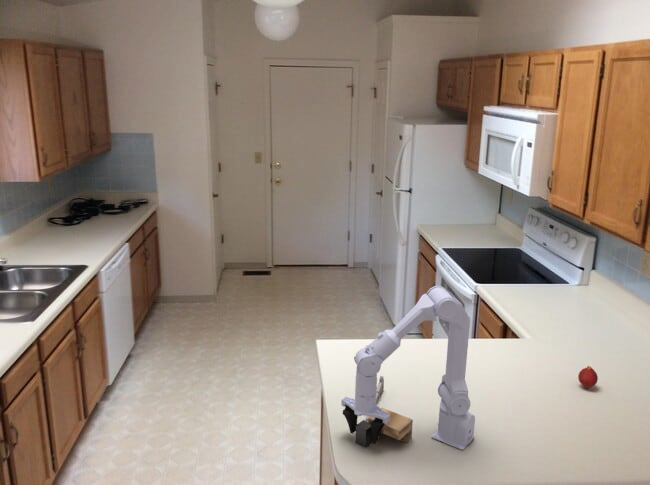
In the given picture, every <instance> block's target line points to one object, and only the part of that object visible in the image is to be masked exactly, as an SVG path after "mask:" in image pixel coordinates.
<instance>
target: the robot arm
mask: <svg viewBox="0 0 650 485" xmlns="http://www.w3.org/2000/svg"><path fill="white" fill-rule="evenodd" d="M437 317H438V318H439V319H441V320H442V321H445V322H447V323H448V324H449V325H448V336H447V348H446V349H447V351H446V362H445V374H443V375H442V376H441V382H440V383H439V385H438V388H437V393H438V395H439V397H440V398H441V400H440V402H439V411H438V423H437V424H438V425H437V430H436V431H435V432H434V433H433V434H432V435H431V438H432V439H434V440H436V441H439V442H442V443H444V444H446V445H449V446H452V447H454V448H457V449H459V450H460V451H461V450H462V451H463V450H464V449H465V448H466V447H467V446H468V445H469V444H470V443H471V442H472V441H473V439H474V438H475V435H474V434H475V433H474V432H475V422H476V417H475V415H474V414H472V413H471V412H470V411H469V410H470V408H471V400H470V398H469V389H468V385H467V381H466V370H467V358H468V350H469V349H468V347H469V336H470V326H471V317H470V316H469V315H468V312H467V311H466V309H465V308H464V306H463V304H462V302H460V301H459V300H458V299H457V298H456V297H455V295H453V293H452V292H450V290H448V289H446V288H445V287H443V286H441V285H435V286H432V287H430V288H429V289H428V290H427V292H426V293H424V294H422V295H421V296H420V298H419V300H418V301H417V303H416V304H415V305H414V306H412V308H411V309H410V310H409V311H408V313H406V315H405V316H404V317H402V319H400V321H398V323H397V324H396V325H395V326H394V327H393V328H392V329H384V331H380V332H379V333H377V337H376V338H374V340H373V341H372V342H371V343H369V344H368V345H366V346H364V348H361V349H359V350H357V351H356V353H355V356H353V360H354V362H355V364H356V372H355V373H356V374H355V389H354V390H355V391H354V392H355V394H354V398H351V397H347V396H345V397H343V398H342V399H341V404H340V405H341V406H342V407H344V409H343V410H342V414H343V416H344V417H345V419H346V422H347V425H348V428H349V432H350V434H351V435H352V434H354V433H356V425H357V424H358V418H359V417H361V416H365V417H367V416H370V417H374V418H375V420H373V421H372V422H371V423H370V425H371V429H372V443H371V444H376V443H377V442H378V441H379V438H380V436H381V435H380V433H381V430H382V428H383V426H384V425H385V424H387V423H388V422H389V421H390V414H388V413H386V412H384V411H383V410H382V409H381V408H380V407H379V406H378V405H377V403H376V392H377V386H378V373H379V372H380V370H381V366H382V364H383V363H384V362H385V361H386V360H387V359H388V358H389V357H390V356H391V355H392V354H393V353H394V352H395V351H396V350H398V349H399V348H400V347H401V343H402V342H401V341H402V339H403V338H405V337H406V335H408V334H410V333H411V331H413V330H415V329H416V328H418V326H419V325H420V324H421V323H423V322H424V321H426V322H427V321H429V322H437V321H438V319H437ZM381 434H382V433H381Z"/></svg>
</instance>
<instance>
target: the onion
mask: <svg viewBox="0 0 650 485" xmlns="http://www.w3.org/2000/svg"><path fill="white" fill-rule="evenodd" d="M577 378H578V381H579V383H580V384H581V385H582V386H583V387H584V388H585V389H589V388H593V387H594V386H595V385H596V384H597V383H598V380H599V378H598V374H597V372H596V371H595V370H594V369H593V368H592V366H591V365H588V366H586V367H585V368H582V369H581V370H580V371H579V373H578V377H577Z"/></svg>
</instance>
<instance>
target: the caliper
mask: <svg viewBox="0 0 650 485" xmlns="http://www.w3.org/2000/svg"><path fill="white" fill-rule="evenodd" d="M378 380H379V382H377V392H376V404H377V402H378V399H379V398H380V396H382V395H383V393H384V390H385V388H384V387H385V386H384V385H385V378H384V376H382V375H380V377H379V379H378ZM369 417H370V416H365V421H367V422H368V418H369Z"/></svg>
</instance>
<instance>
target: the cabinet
mask: <svg viewBox="0 0 650 485" xmlns="http://www.w3.org/2000/svg"><path fill="white" fill-rule="evenodd" d="M380 409H382V410H383V411H384V412H386V413H388V414H390V421H389V422H388V423H387V424H385V425H384V426H383V428H382V430H381V434H385V435H386V436H388V437H391V438H393V439H396V440H397V441H402V442H404V443H407V444H408V443H409V442H410V441H412V436H413V435H412V434H413V421H414V420H413V418H412V419H411V418H410V417H407V416H404V415H402V414H399V413H397V412H394V411H392V410H390V409H386V408H384V407H381V408H380ZM373 420H375V418H374V417H369V418H368V422H369V423H371V422H372V421H373Z"/></svg>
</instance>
